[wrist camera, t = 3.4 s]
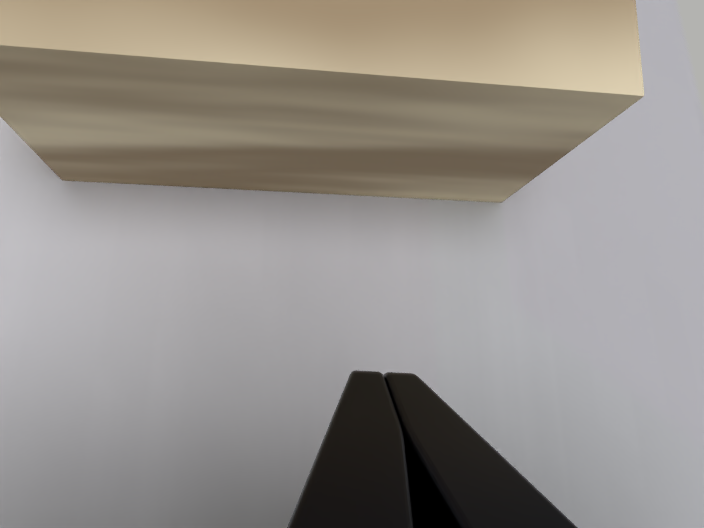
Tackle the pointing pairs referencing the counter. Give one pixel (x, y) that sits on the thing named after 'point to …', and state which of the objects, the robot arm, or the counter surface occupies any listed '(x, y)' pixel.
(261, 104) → the oak plank
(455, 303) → the counter surface
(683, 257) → the counter surface
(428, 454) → the robot arm
